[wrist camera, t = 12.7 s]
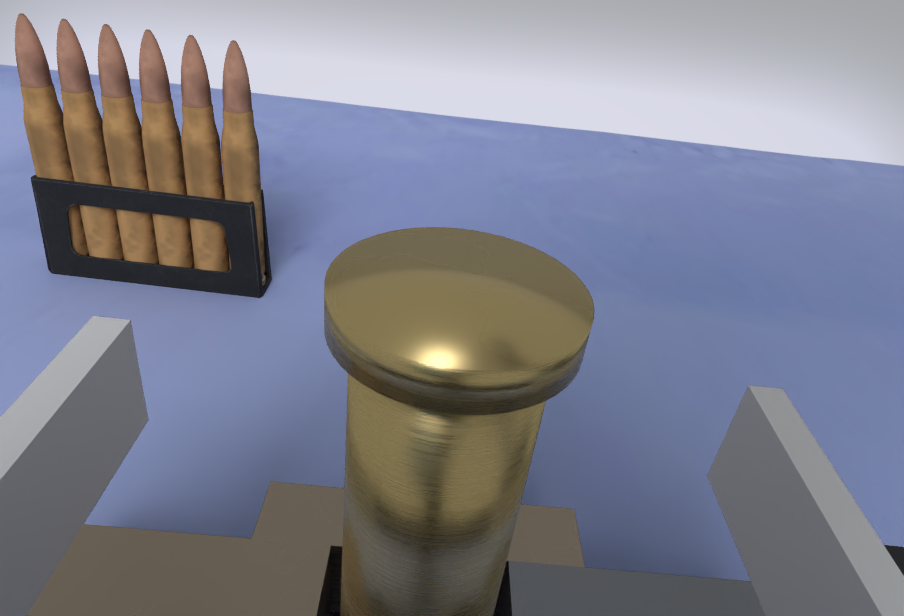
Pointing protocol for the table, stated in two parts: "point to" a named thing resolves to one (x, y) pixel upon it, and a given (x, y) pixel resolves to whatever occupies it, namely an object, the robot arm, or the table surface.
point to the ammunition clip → (144, 168)
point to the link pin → (443, 408)
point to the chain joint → (320, 568)
